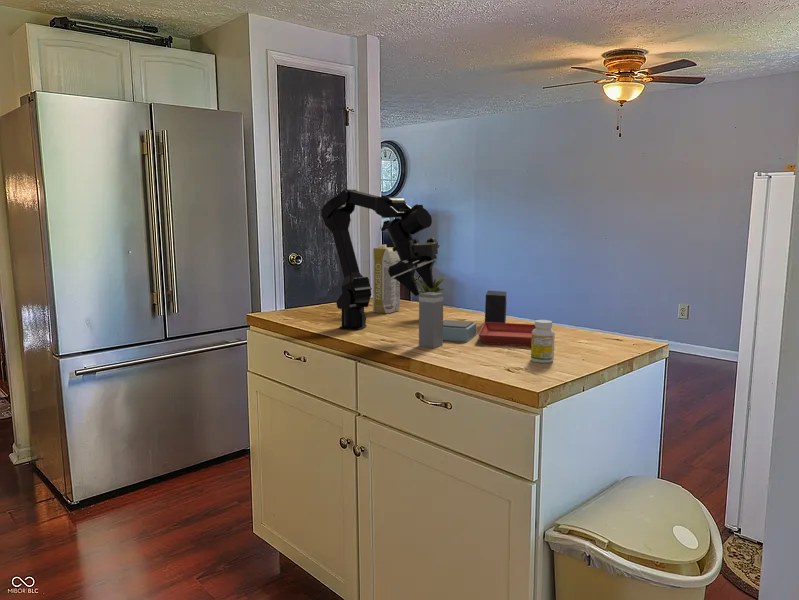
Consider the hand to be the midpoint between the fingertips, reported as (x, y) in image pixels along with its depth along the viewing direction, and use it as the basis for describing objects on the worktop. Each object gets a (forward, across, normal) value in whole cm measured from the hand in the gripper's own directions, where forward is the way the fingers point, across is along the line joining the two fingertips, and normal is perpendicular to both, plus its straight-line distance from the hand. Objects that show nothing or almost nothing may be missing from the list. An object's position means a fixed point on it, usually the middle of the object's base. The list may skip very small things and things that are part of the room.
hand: (424, 291), depth 167 cm
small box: (+20, +27, -3) cm, 34 cm away
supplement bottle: (+26, -11, -28) cm, 39 cm away
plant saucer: (+22, +10, -14) cm, 28 cm away
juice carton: (+3, +34, +37) cm, 50 cm away
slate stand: (+15, +5, -1) cm, 16 cm away
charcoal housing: (+14, -9, 0) cm, 16 cm away
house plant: (+10, +26, +19) cm, 33 cm away
